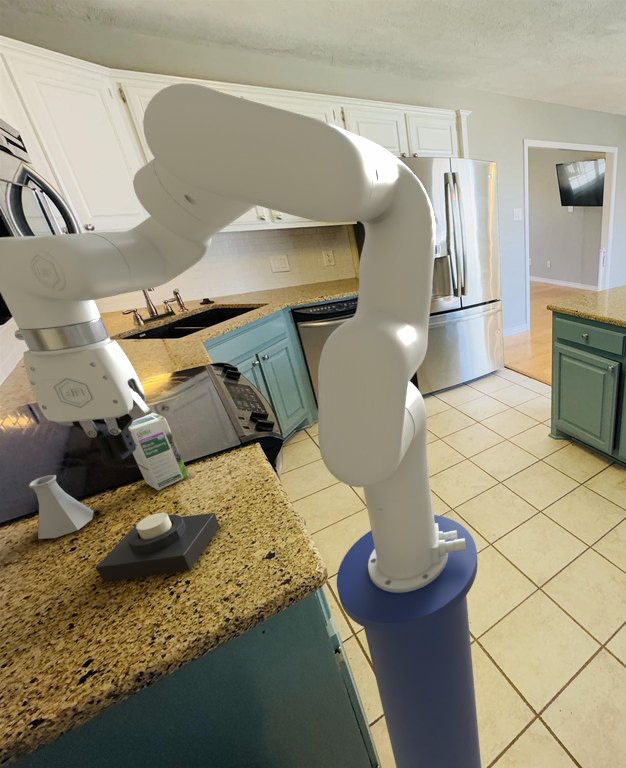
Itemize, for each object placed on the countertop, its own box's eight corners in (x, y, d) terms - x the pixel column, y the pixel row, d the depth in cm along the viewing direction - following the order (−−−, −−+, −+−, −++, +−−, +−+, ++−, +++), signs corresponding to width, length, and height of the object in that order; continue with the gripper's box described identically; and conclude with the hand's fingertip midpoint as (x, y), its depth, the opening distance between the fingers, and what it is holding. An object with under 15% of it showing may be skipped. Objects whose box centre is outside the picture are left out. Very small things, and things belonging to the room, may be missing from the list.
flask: (28, 545, 70) (-1, 497, 66) (53, 518, 76) (28, 473, 72) (82, 533, 72) (57, 487, 69) (102, 508, 79) (80, 464, 75)
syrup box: (157, 491, 83) (130, 429, 78) (145, 483, 86) (118, 422, 80) (189, 477, 88) (166, 417, 82) (176, 469, 90) (152, 411, 85)
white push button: (177, 520, 68) (173, 511, 67) (163, 538, 65) (158, 527, 64) (150, 524, 68) (146, 514, 67) (134, 541, 64) (129, 531, 63)
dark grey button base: (220, 526, 73) (211, 504, 71) (190, 570, 64) (179, 546, 62) (145, 536, 71) (134, 513, 69) (103, 583, 62) (89, 558, 60)
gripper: (-31, 348, 49) (40, 476, 56) (113, 339, 51) (164, 463, 58) (26, 332, 56) (83, 447, 63) (150, 325, 58) (192, 437, 65)
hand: (121, 454), depth 60 cm, fingers closed
